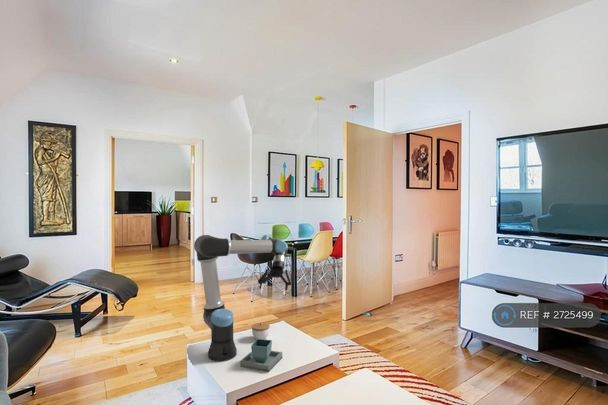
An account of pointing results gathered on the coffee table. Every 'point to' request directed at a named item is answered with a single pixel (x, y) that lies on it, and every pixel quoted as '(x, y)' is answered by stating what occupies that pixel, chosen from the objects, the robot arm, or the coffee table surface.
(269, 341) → the flower pot
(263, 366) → the tray
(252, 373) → the coffee table surface
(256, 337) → the lidded jar
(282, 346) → the coffee table surface
